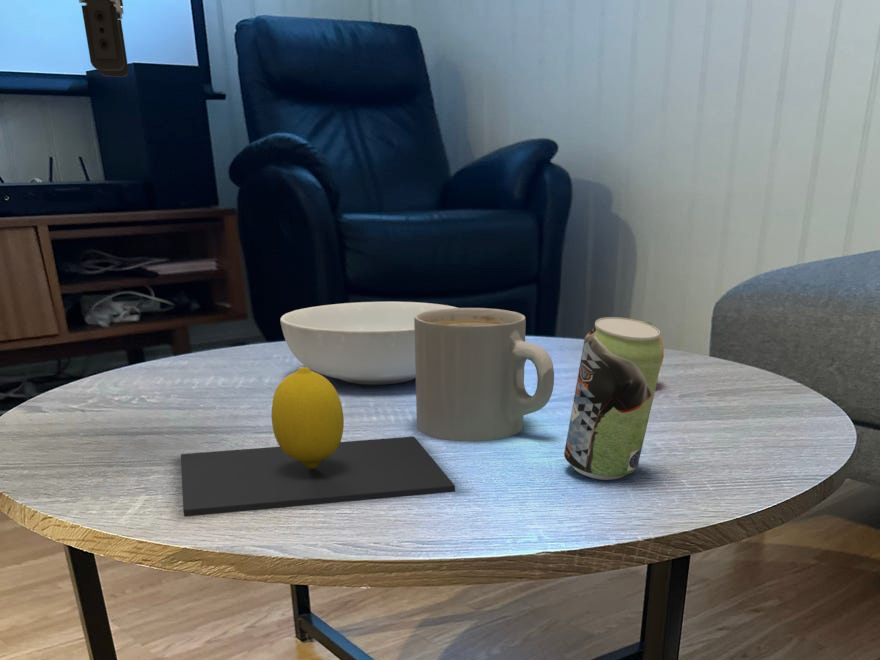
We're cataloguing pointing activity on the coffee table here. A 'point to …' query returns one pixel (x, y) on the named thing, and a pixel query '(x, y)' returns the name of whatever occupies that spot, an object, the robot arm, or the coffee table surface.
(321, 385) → the lemon
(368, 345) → the serving bowl
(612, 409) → the beverage can
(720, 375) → the coffee table surface
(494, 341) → the coffee mug
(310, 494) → the mat
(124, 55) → the robot arm
